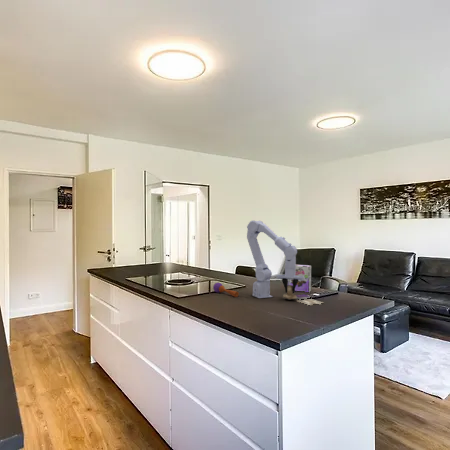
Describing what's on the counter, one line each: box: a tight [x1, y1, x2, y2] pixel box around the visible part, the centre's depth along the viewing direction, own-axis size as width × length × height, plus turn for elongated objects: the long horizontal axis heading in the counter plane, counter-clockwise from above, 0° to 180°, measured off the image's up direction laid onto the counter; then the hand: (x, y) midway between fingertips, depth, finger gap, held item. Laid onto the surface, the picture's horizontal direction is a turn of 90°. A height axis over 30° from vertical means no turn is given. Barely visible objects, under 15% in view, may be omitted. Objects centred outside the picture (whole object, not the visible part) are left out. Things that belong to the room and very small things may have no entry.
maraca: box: [212, 282, 240, 298], centre depth 190 cm, size 6×6×20 cm
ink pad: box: [295, 294, 312, 300], centre depth 182 cm, size 8×6×2 cm
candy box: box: [287, 264, 312, 293], centre depth 203 cm, size 14×6×16 cm, turn 62°
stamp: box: [283, 284, 297, 301], centre depth 177 cm, size 5×5×7 cm
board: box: [296, 298, 324, 306], centre depth 171 cm, size 10×10×1 cm
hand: (289, 292), depth 177 cm, fingers closed on stamp, 3 cm apart
